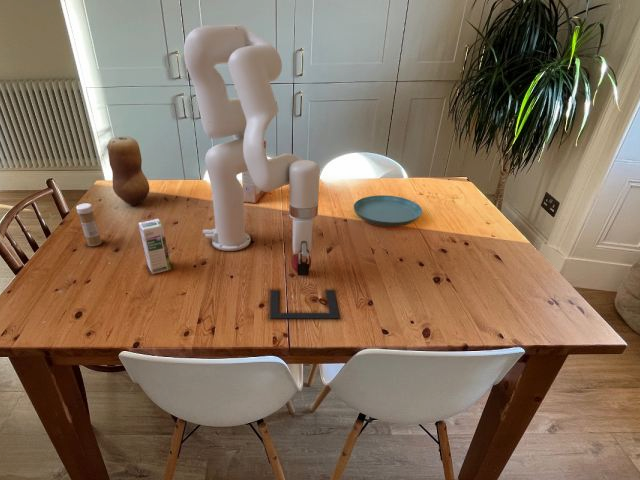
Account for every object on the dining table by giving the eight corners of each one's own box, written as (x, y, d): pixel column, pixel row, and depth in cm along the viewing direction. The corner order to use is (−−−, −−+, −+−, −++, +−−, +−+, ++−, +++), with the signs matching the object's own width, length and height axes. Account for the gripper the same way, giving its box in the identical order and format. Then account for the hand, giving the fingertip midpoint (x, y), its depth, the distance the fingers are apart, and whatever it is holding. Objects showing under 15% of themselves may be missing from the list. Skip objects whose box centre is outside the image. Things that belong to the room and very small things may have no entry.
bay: (270, 318, 101) (270, 318, 101) (271, 291, 111) (271, 290, 111) (339, 319, 101) (339, 318, 101) (333, 291, 111) (333, 290, 111)
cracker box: (257, 203, 160) (255, 149, 148) (242, 202, 161) (239, 148, 149) (267, 191, 171) (266, 139, 159) (253, 189, 172) (251, 138, 160)
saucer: (389, 198, 163) (391, 190, 161) (435, 221, 145) (437, 213, 143) (339, 210, 154) (340, 202, 152) (381, 236, 136) (383, 227, 134)
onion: (309, 279, 115) (310, 255, 111) (289, 277, 116) (289, 253, 112) (312, 268, 120) (313, 245, 116) (292, 267, 121) (293, 243, 117)
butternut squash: (158, 202, 162) (146, 137, 148) (128, 212, 154) (113, 145, 140) (138, 193, 170) (125, 131, 156) (109, 203, 162) (93, 138, 148)
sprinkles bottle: (101, 239, 137) (91, 201, 129) (102, 245, 133) (91, 207, 125) (87, 242, 135) (75, 203, 128) (87, 248, 132) (75, 209, 124)
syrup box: (152, 275, 118) (142, 229, 110) (147, 265, 123) (137, 221, 114) (171, 270, 120) (163, 225, 112) (166, 261, 125) (158, 217, 116)
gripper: (288, 197, 114) (288, 251, 124) (289, 224, 100) (289, 282, 109) (315, 197, 114) (313, 251, 124) (320, 223, 100) (317, 282, 109)
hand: (302, 265), depth 116 cm, fingers open, 9 cm apart
